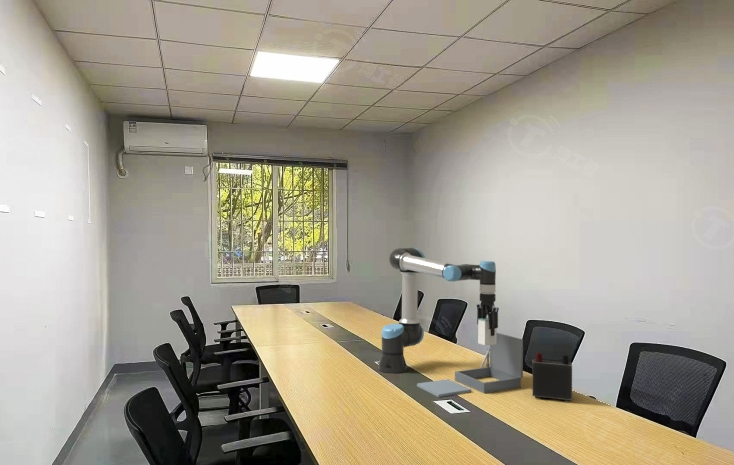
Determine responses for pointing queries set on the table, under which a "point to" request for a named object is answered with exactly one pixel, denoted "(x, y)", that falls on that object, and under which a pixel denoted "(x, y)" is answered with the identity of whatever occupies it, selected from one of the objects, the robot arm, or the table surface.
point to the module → (484, 332)
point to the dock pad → (443, 388)
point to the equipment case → (497, 367)
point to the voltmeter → (552, 378)
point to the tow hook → (487, 360)
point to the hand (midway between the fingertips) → (487, 341)
